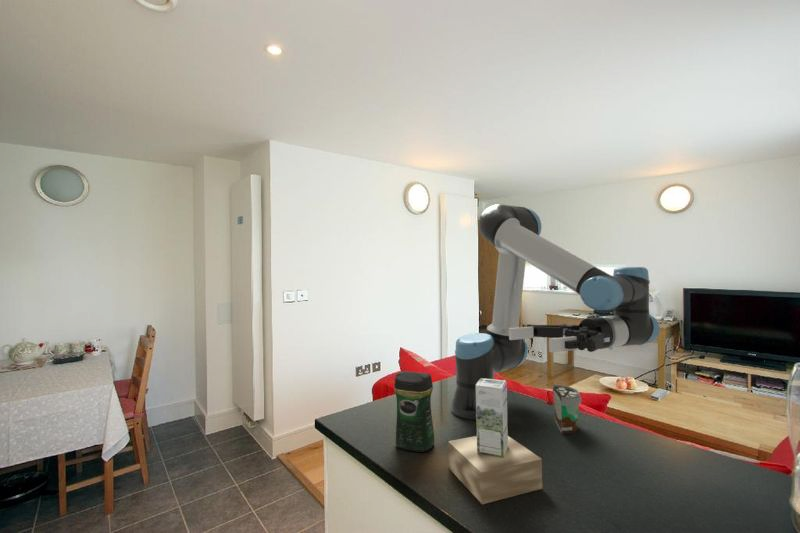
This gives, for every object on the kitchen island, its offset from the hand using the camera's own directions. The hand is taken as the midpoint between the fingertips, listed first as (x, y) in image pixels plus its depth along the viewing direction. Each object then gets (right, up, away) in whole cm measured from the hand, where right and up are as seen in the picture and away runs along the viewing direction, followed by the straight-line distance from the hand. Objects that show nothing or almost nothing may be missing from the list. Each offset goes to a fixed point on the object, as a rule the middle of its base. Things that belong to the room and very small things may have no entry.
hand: (528, 339), depth 83 cm
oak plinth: (-9, -29, -3) cm, 30 cm away
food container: (+19, -29, +21) cm, 40 cm away
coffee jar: (-25, -30, +12) cm, 40 cm away
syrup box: (-9, -23, -3) cm, 25 cm away
